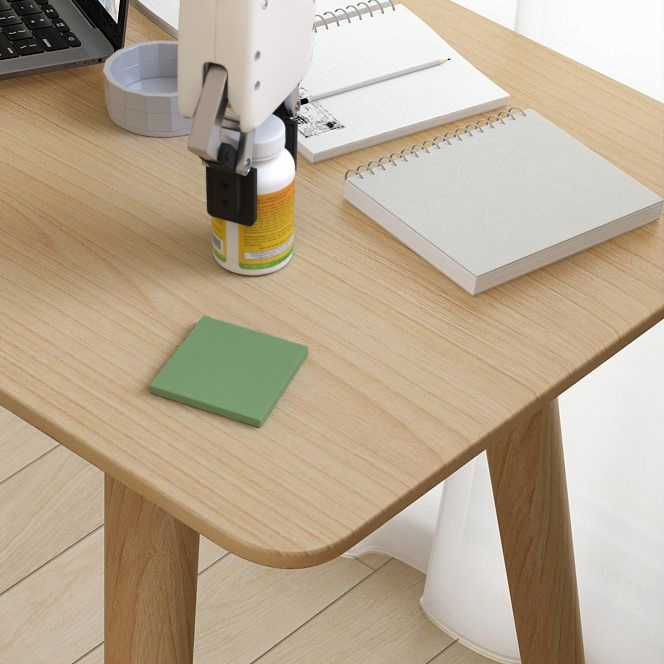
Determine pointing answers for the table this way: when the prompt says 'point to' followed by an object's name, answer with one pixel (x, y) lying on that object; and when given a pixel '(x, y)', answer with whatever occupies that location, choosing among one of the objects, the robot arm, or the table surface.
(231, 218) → the robot arm
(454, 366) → the table surface
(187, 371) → the green flat square slab
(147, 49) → the bowl
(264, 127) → the supplement bottle
